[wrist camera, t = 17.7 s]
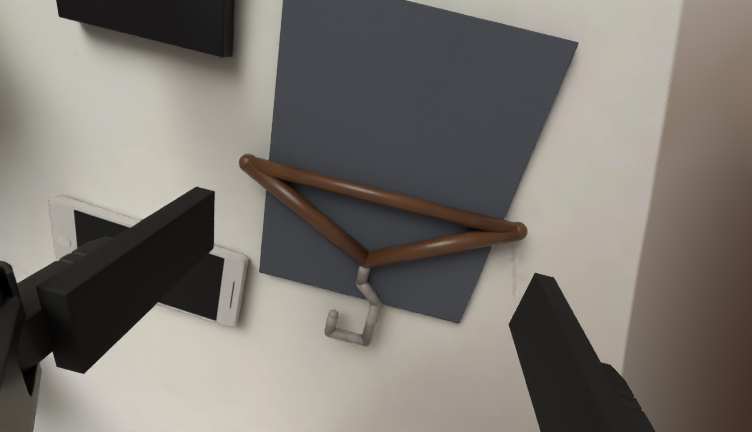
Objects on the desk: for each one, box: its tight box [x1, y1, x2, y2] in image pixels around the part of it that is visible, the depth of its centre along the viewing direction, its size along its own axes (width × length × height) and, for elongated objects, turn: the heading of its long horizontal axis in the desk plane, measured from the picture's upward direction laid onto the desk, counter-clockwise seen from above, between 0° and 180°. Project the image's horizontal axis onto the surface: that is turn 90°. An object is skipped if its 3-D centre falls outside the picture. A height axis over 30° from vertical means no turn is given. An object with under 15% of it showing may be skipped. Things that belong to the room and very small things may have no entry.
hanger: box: [239, 154, 527, 346], centre depth 26 cm, size 19×1×14 cm
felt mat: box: [259, 0, 578, 323], centre depth 24 cm, size 16×20×1 cm
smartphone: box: [48, 196, 249, 327], centre depth 29 cm, size 7×16×1 cm, turn 73°
